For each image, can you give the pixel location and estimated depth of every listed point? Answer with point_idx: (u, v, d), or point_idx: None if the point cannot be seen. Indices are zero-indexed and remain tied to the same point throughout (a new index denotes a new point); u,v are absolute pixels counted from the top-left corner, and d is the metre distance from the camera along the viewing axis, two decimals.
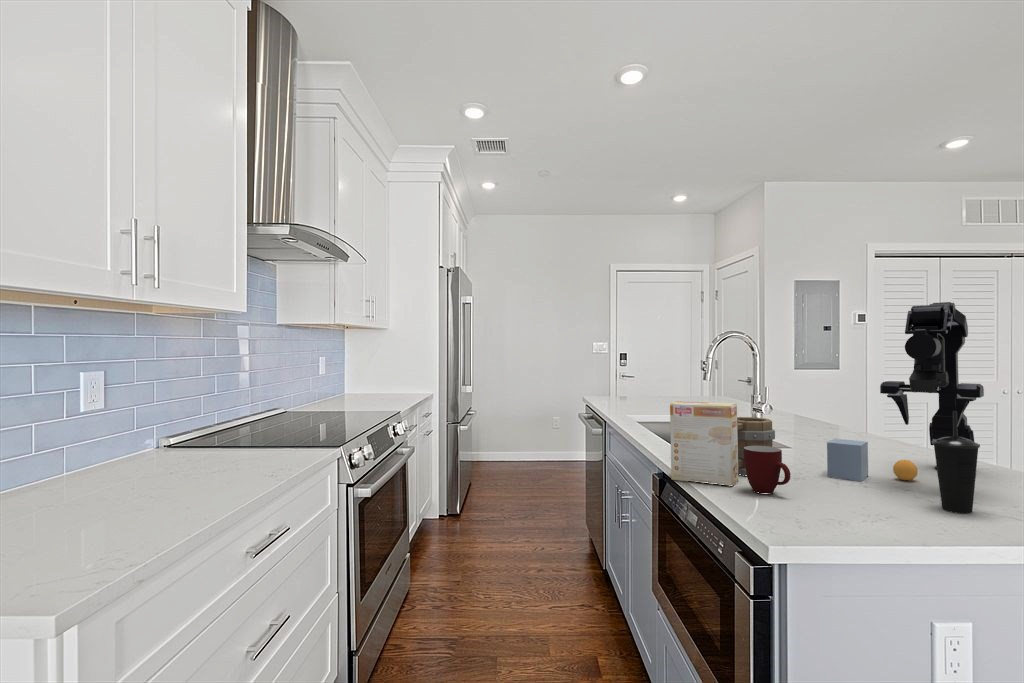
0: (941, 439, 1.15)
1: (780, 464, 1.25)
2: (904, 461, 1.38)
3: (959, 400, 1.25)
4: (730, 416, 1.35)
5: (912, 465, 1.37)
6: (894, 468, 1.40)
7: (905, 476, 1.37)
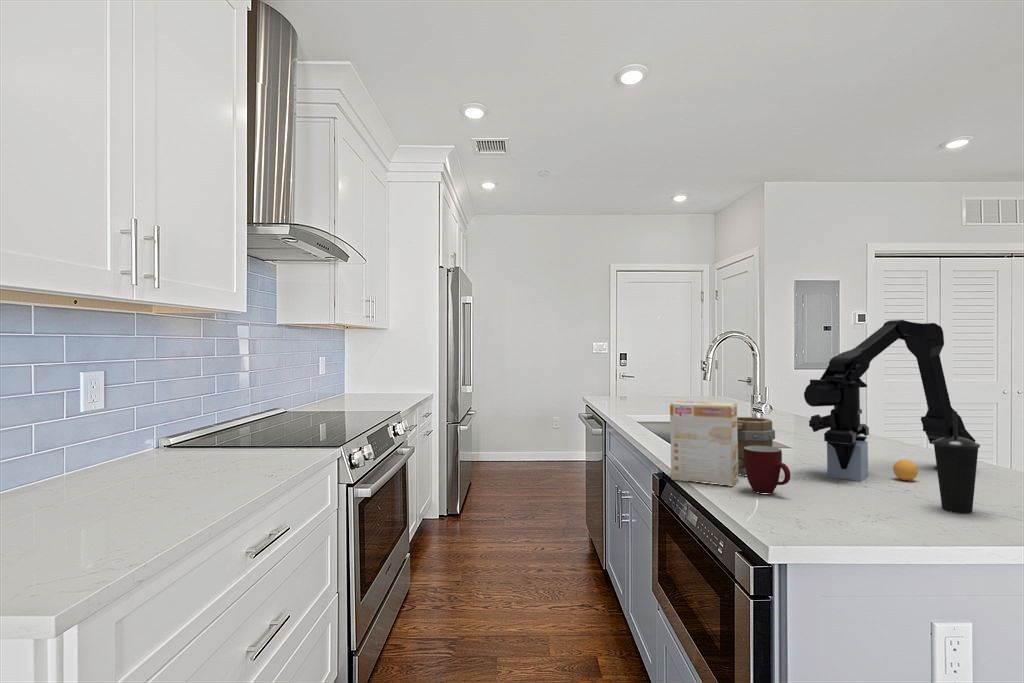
0: (941, 439, 1.15)
1: (780, 464, 1.25)
2: (904, 461, 1.38)
3: None
4: (730, 416, 1.35)
5: (912, 465, 1.37)
6: (894, 468, 1.40)
7: (905, 476, 1.37)
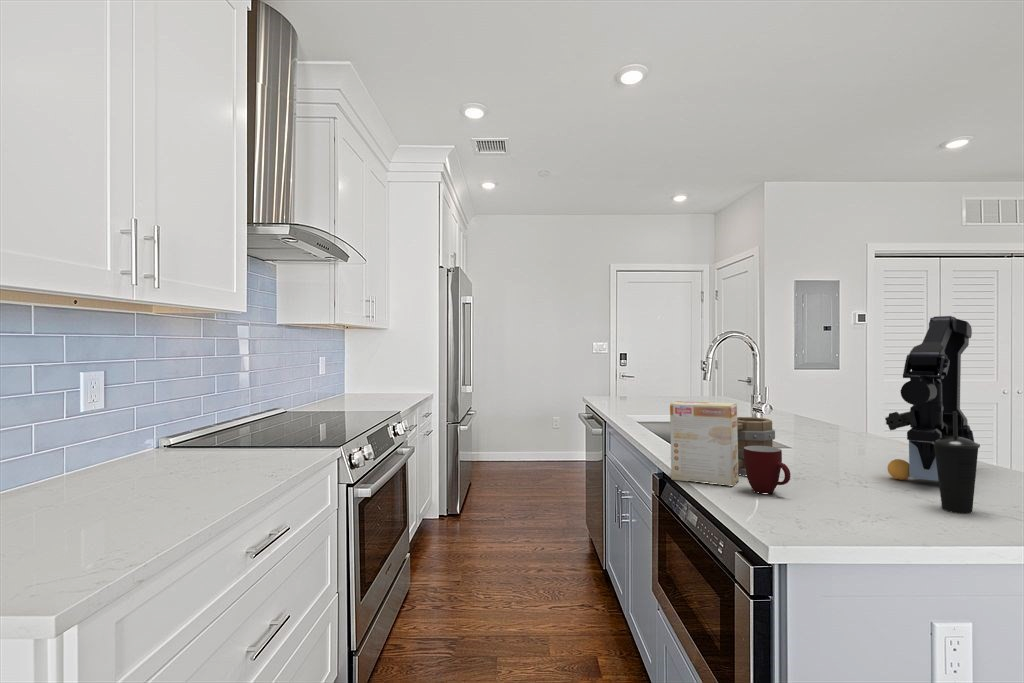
0: (941, 439, 1.15)
1: (780, 464, 1.25)
2: (894, 461, 1.40)
3: None
4: (730, 416, 1.35)
5: (902, 462, 1.39)
6: (889, 471, 1.40)
7: (901, 475, 1.38)
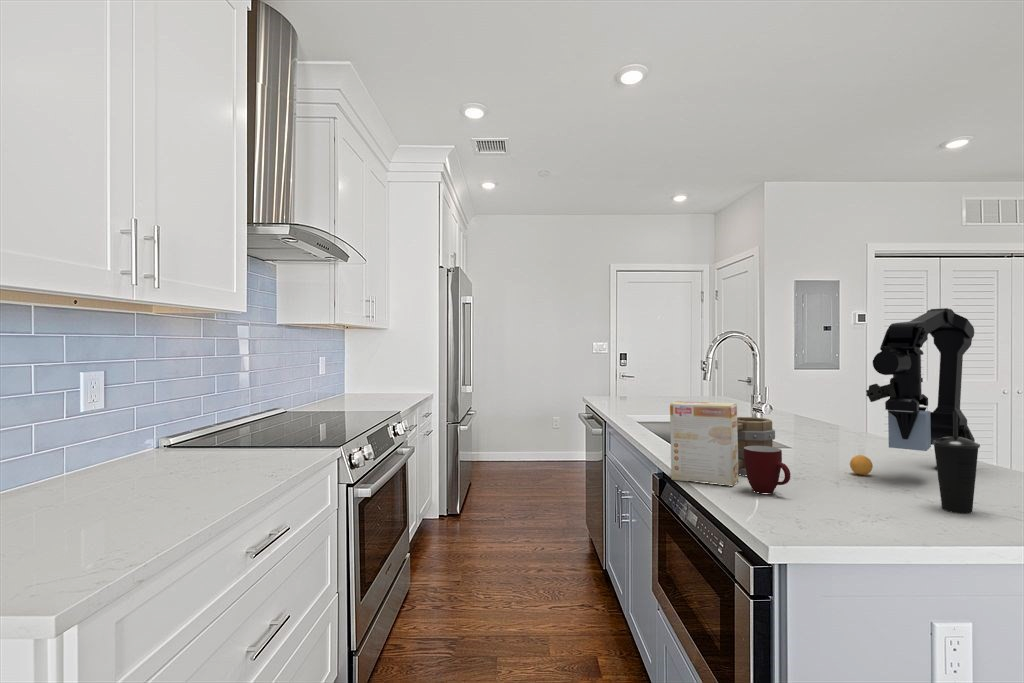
0: (941, 439, 1.15)
1: (780, 464, 1.25)
2: (866, 473, 1.44)
3: None
4: (730, 416, 1.35)
5: (858, 473, 1.45)
6: (868, 463, 1.43)
7: (855, 462, 1.44)
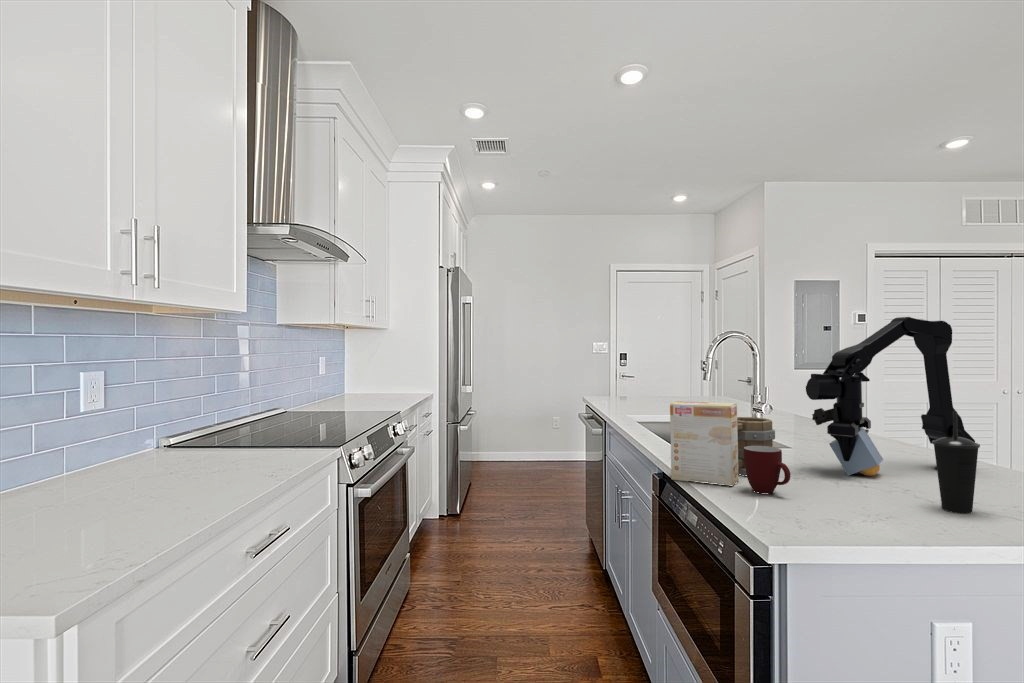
0: (941, 439, 1.15)
1: (780, 464, 1.25)
2: (867, 475, 1.44)
3: None
4: (730, 416, 1.35)
5: None
6: (876, 469, 1.42)
7: None
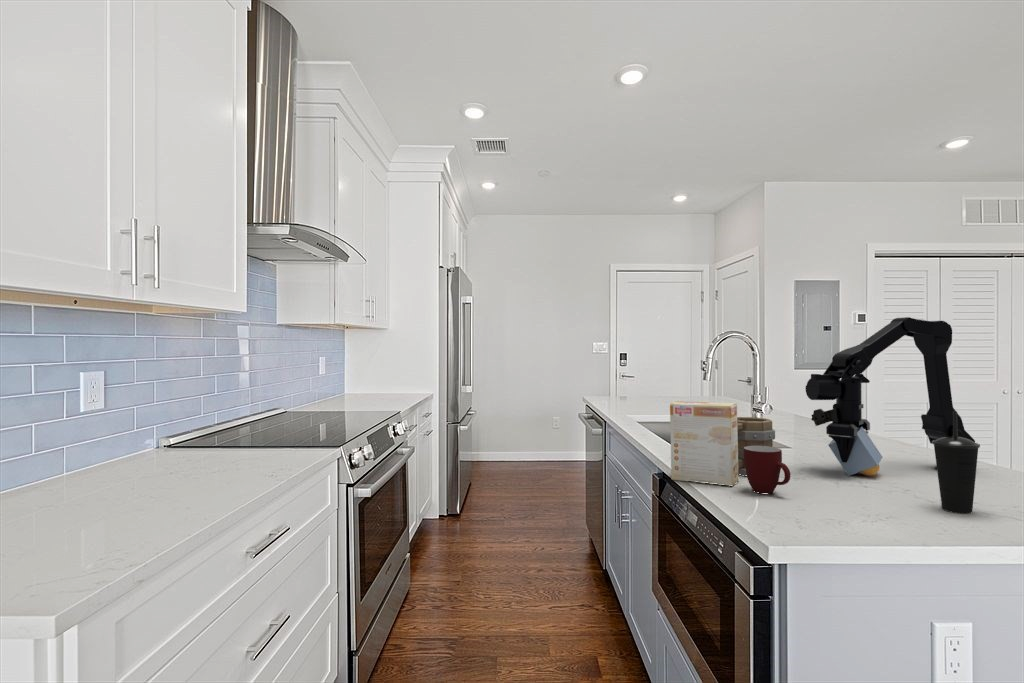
0: (941, 439, 1.15)
1: (780, 464, 1.25)
2: (867, 475, 1.44)
3: None
4: (730, 416, 1.35)
5: None
6: (876, 469, 1.42)
7: None
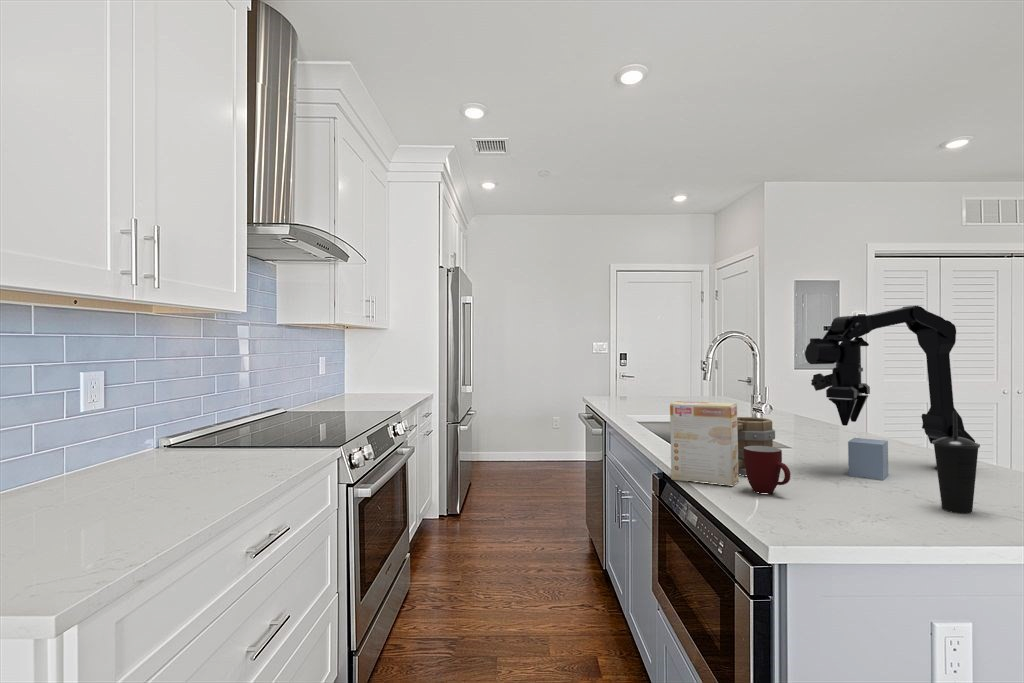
0: (941, 439, 1.15)
1: (780, 464, 1.25)
2: None
3: None
4: (730, 416, 1.35)
5: None
6: None
7: None
